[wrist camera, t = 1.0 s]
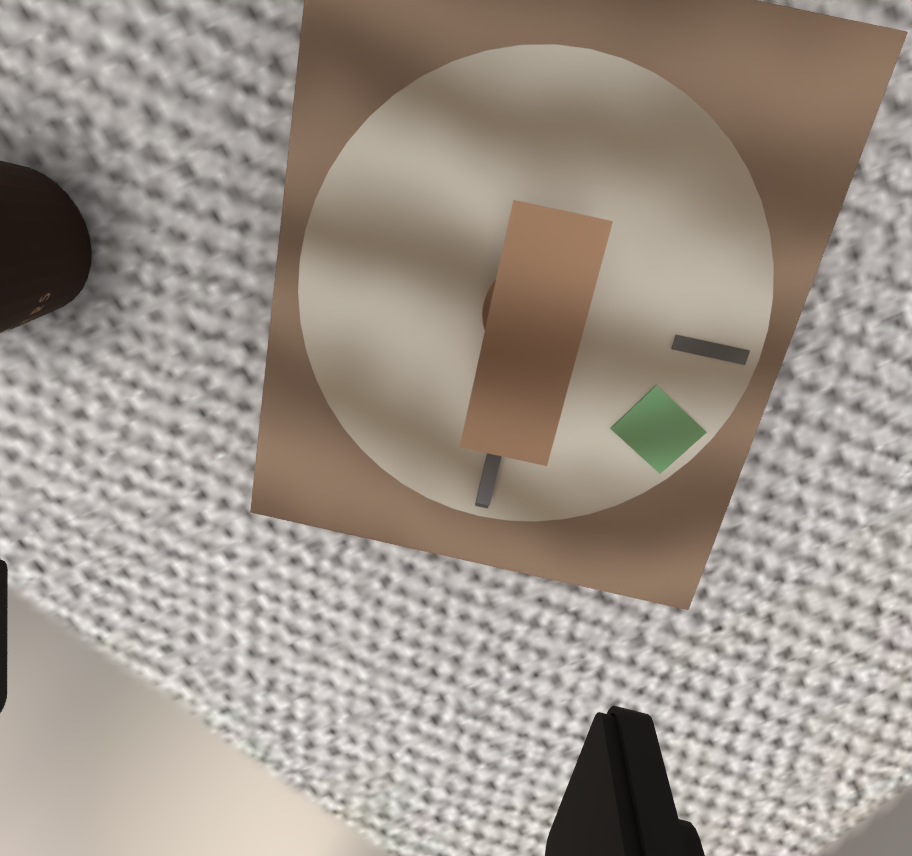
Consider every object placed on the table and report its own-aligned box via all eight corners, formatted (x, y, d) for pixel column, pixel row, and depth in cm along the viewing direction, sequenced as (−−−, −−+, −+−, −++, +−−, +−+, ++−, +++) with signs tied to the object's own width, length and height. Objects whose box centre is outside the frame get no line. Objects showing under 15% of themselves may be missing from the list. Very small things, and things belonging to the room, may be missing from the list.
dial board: (325, -75, 25) (311, -96, 23) (884, 41, 24) (912, 29, 22) (261, 498, 33) (247, 515, 31) (681, 592, 32) (690, 613, 31)
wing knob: (506, 198, 25) (503, 198, 20) (598, 218, 25) (623, 223, 19) (443, 490, 29) (426, 559, 24) (523, 508, 29) (524, 581, 24)
